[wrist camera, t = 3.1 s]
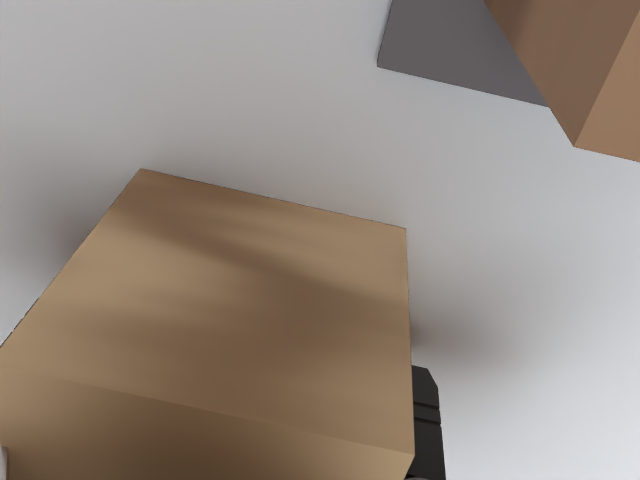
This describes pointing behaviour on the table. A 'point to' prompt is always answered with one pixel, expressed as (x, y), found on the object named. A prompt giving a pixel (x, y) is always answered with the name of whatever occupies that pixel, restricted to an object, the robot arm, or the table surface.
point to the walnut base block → (582, 66)
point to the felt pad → (455, 48)
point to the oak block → (215, 345)
